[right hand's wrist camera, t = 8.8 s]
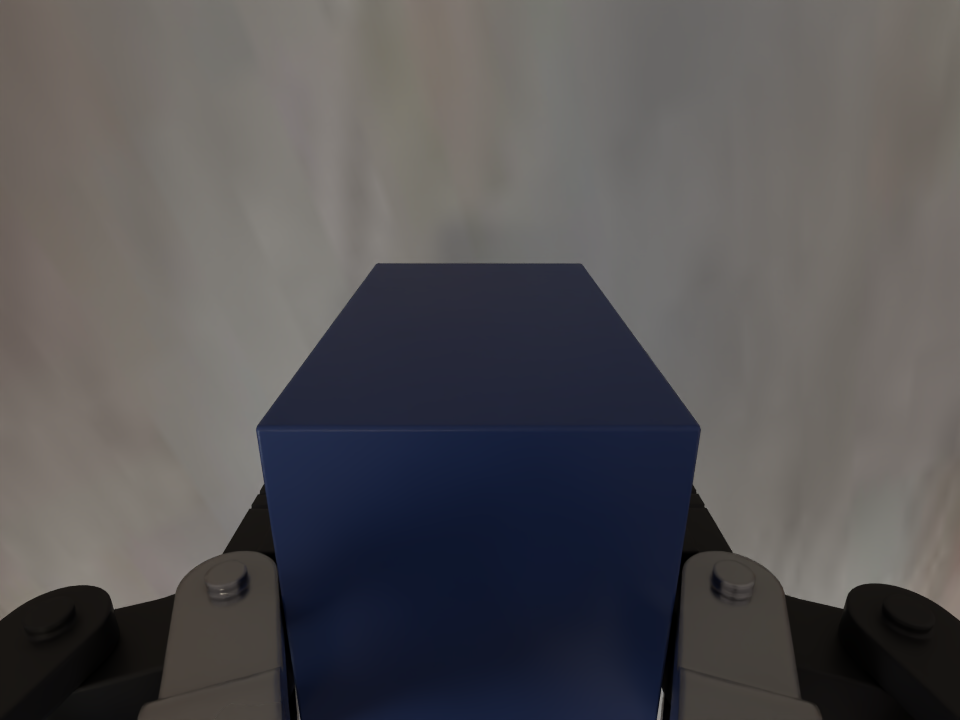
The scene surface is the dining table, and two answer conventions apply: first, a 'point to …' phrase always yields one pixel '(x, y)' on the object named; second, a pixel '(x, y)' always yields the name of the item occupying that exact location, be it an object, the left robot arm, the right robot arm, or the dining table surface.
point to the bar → (478, 501)
